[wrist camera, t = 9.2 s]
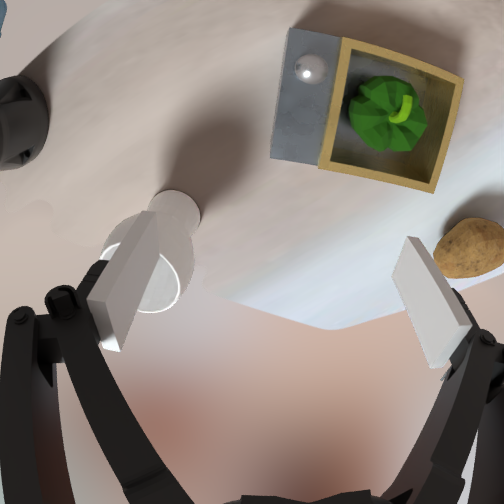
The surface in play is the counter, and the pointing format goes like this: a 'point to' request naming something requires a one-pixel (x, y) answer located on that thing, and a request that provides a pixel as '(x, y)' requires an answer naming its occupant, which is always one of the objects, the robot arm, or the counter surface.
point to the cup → (165, 248)
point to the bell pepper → (387, 114)
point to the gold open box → (337, 113)
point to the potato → (470, 249)
